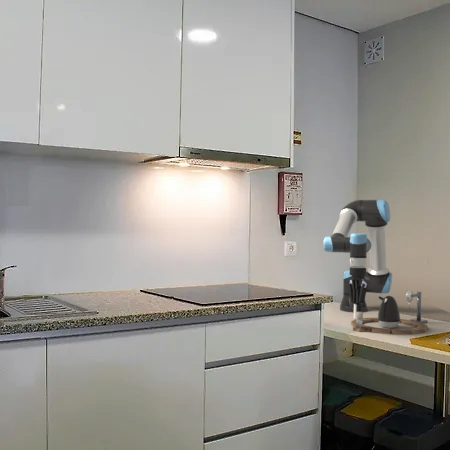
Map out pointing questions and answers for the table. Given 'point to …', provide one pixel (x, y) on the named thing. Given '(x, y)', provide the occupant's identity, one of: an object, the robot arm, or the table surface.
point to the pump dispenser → (388, 312)
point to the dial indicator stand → (409, 297)
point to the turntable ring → (360, 327)
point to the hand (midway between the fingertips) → (356, 318)
